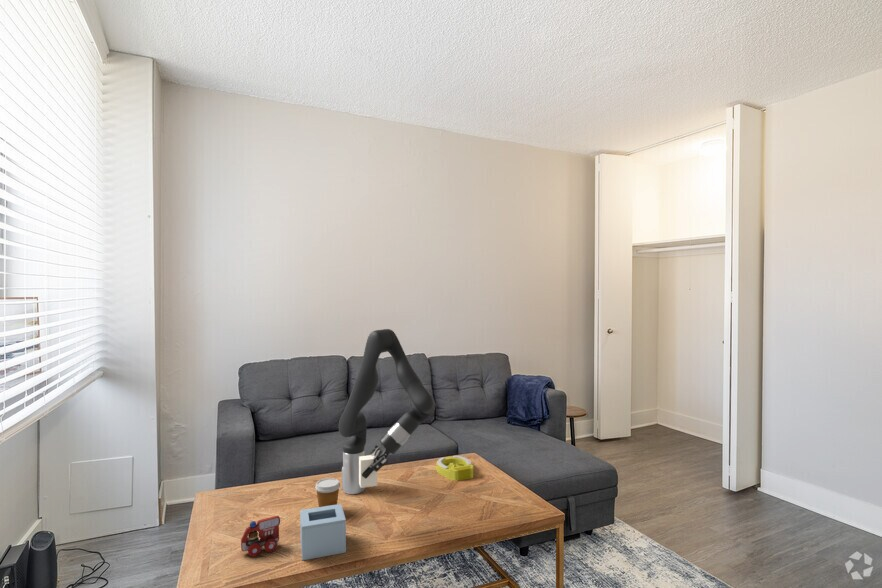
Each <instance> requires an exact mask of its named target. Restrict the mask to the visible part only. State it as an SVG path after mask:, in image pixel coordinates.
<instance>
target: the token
mask: <svg viewBox="0 0 882 588" xmlns="http://www.w3.org/2000/svg"><path fill="white" fill-rule="evenodd" d="M374 457H375V456H374V455H373V456H371V455H369V454H367V455H364V456H359V485H360V487H361V488H364V487H365V488H371V487H372V488H373V487H376V486H378V471H377V472H376V471H373V472H372V473H371V474H370V475H369V476H368V477H367V478H366V479H365V478H364V477H363V476H362V473H363V472H364V471H365V470H366V469H367V468H368V467H369V466H370V464H371V463H372V462H373V461H372V460H373V458H374ZM376 461H377V460H376Z"/></svg>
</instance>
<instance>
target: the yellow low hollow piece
mask: <svg viewBox="0 0 882 588" xmlns="http://www.w3.org/2000/svg"><path fill="white" fill-rule="evenodd" d="M436 472H437V473H438V474H439V475H441V476H442V477H445V478H446V479H448V480H451V481H454V482H458V481H464V480H465V481H466V480H471V479H474V464H472V462H471V460H470V459H468V458H467V457H464V456H461V455H453V456H446V457H440V458H438V460H437V461H436Z"/></svg>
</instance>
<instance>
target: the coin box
mask: <svg viewBox="0 0 882 588" xmlns="http://www.w3.org/2000/svg"><path fill="white" fill-rule="evenodd" d="M299 517H300V519H299V520H300V526H299V528H300V530H299V532H300V551H301V552H300V553H301V560H302V561H307V560H312V559H316V558H317V559H318V558H322V557H328V556H334V555H338V554H339V555H340V554H344V553H346V552H347V536H346V535H347V524H346V523H347V521H346V520H347V519H346V516H345V512H344V509H343V506H342V503H339V504H338V503H337V505H330V506H324V507H319V506H317V507H312V508H305V509H300V514H299Z"/></svg>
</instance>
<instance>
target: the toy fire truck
mask: <svg viewBox="0 0 882 588" xmlns="http://www.w3.org/2000/svg"><path fill="white" fill-rule="evenodd" d="M280 524H281V517H280V516H279V515H274V516H270V517H266V518H262V519H258V521H257V522H256V521H254V520H252V521H250V523H249V526H248V527H246V529H245V530H244V533H243V534H242V537H241V539H240V546H241V547H240V548H241V550H240V551H242V552H247V553H248V555H249V556H250V557H256V556H258V555H259V554H260V553H261V551H262V547H263V549H264V550H265V552H266V553H272V552H275V551H276V550H277V547H278V542H279V541H280Z"/></svg>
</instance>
